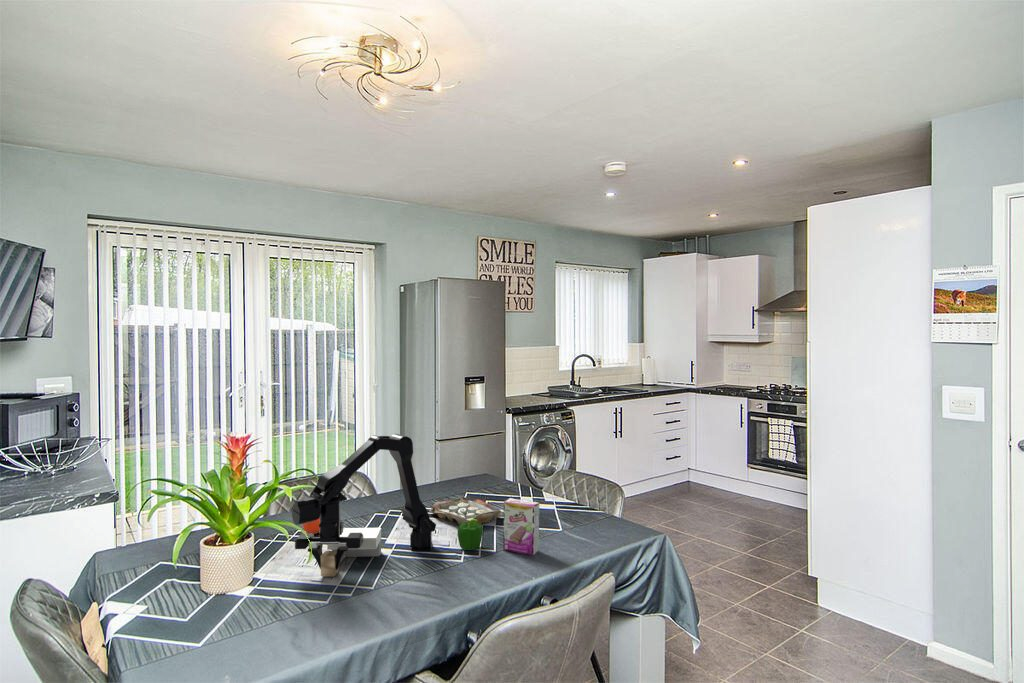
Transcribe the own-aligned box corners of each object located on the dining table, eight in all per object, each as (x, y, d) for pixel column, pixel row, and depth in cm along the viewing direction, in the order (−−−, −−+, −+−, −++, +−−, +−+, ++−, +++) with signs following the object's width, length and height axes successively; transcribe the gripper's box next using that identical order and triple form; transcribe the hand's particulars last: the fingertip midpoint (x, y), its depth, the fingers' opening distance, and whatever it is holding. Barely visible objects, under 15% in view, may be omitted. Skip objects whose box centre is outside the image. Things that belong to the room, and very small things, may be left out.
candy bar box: (502, 550, 188) (502, 501, 187) (508, 545, 192) (509, 497, 192) (533, 556, 183) (534, 506, 183) (539, 551, 188) (539, 502, 187)
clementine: (315, 539, 197) (315, 518, 196) (297, 537, 198) (297, 517, 198) (327, 531, 204) (327, 511, 204) (309, 529, 206) (309, 510, 206)
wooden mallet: (350, 556, 181) (349, 537, 181) (334, 576, 166) (334, 556, 166) (337, 555, 181) (337, 537, 181) (320, 576, 166) (320, 556, 166)
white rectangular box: (381, 551, 186) (381, 527, 186) (376, 563, 177) (376, 537, 177) (334, 552, 185) (334, 528, 185) (327, 564, 176) (327, 538, 176)
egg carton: (417, 516, 223) (417, 502, 223) (458, 502, 239) (458, 490, 239) (470, 534, 203) (470, 519, 203) (511, 518, 219) (510, 504, 219)
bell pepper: (452, 548, 190) (452, 518, 189) (470, 541, 196) (470, 512, 195) (469, 555, 184) (469, 524, 184) (487, 548, 190) (487, 518, 190)
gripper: (367, 508, 176) (366, 557, 177) (305, 508, 175) (305, 558, 175) (359, 520, 165) (359, 573, 166) (294, 520, 164) (294, 574, 164)
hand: (329, 569), depth 168 cm, fingers closed on wooden mallet, 4 cm apart
